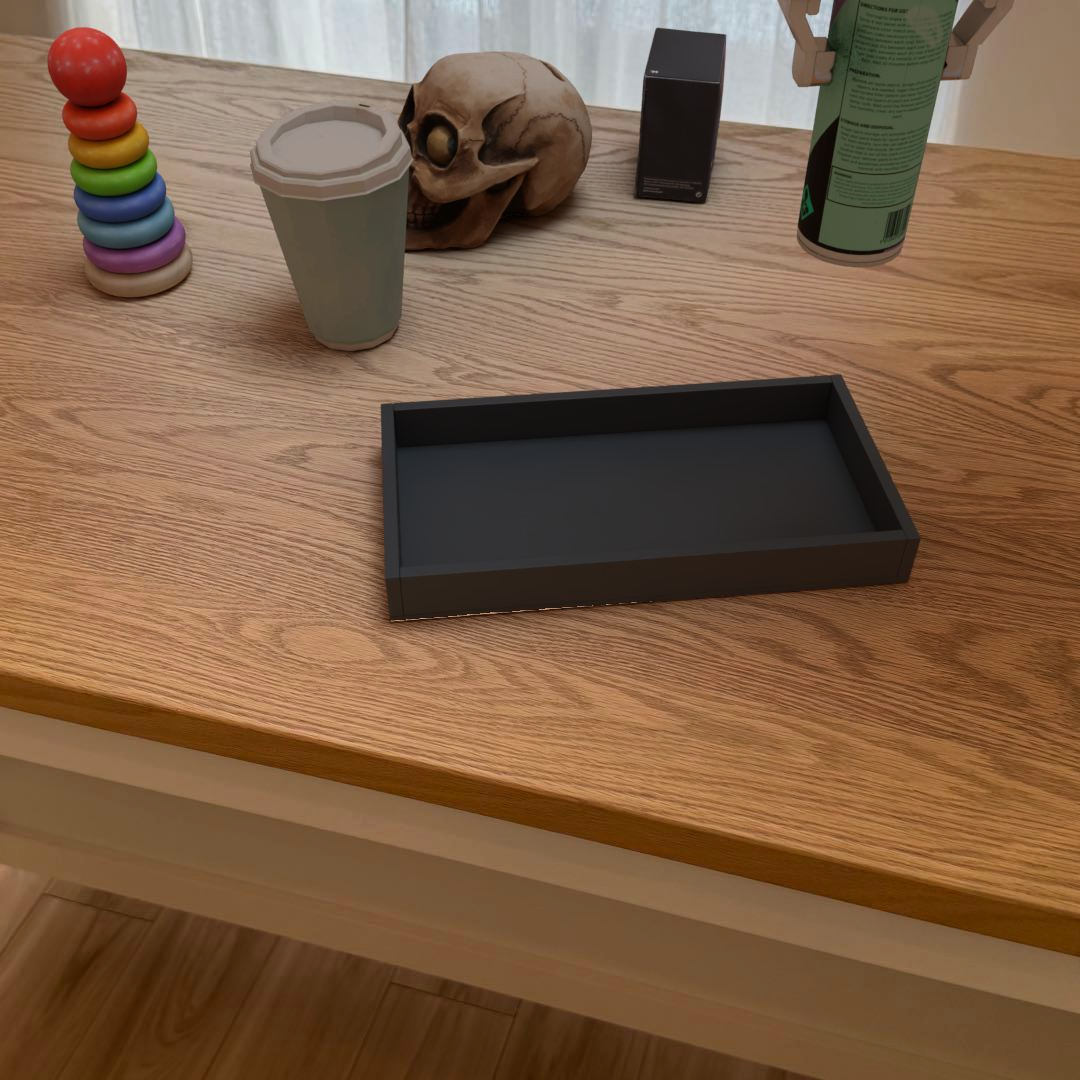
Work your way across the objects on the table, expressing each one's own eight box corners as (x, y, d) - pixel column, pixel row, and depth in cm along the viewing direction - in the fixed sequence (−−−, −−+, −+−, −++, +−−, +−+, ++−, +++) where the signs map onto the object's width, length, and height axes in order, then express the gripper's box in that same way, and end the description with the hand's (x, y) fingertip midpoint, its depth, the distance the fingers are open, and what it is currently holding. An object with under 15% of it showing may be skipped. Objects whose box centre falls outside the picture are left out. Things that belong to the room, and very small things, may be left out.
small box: (710, 205, 103) (723, 81, 96) (632, 199, 104) (639, 76, 97) (717, 148, 111) (730, 30, 104) (644, 143, 112) (652, 25, 105)
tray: (832, 417, 82) (841, 373, 80) (908, 582, 71) (921, 538, 69) (385, 447, 80) (380, 403, 78) (390, 623, 69) (384, 578, 66)
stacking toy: (77, 262, 97) (7, 18, 84) (178, 238, 99) (125, -3, 86) (102, 312, 92) (31, 60, 79) (207, 285, 94) (156, 37, 81)
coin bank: (338, 235, 99) (335, 65, 91) (446, 167, 112) (452, 13, 103) (511, 289, 95) (525, 115, 86) (604, 212, 107) (623, 54, 99)
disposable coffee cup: (370, 385, 85) (347, 182, 75) (246, 342, 89) (207, 143, 78) (452, 311, 92) (442, 115, 81) (334, 274, 95) (309, 82, 85)
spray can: (906, 223, 66) (1002, -207, 52) (898, 274, 62) (1000, -176, 49) (802, 209, 67) (871, -216, 54) (789, 258, 63) (859, -186, 50)
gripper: (704, -239, 46) (676, 118, 56) (1226, -252, 48) (1113, 97, 57) (673, -274, 51) (652, 61, 60) (1150, -284, 52) (1057, 44, 62)
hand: (880, 79), depth 59 cm, fingers closed on spray can, 5 cm apart
